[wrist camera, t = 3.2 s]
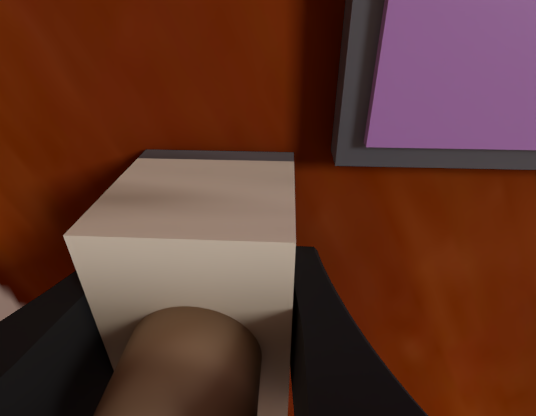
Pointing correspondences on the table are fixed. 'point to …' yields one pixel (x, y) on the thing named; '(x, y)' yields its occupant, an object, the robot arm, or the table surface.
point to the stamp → (193, 282)
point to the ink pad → (437, 84)
